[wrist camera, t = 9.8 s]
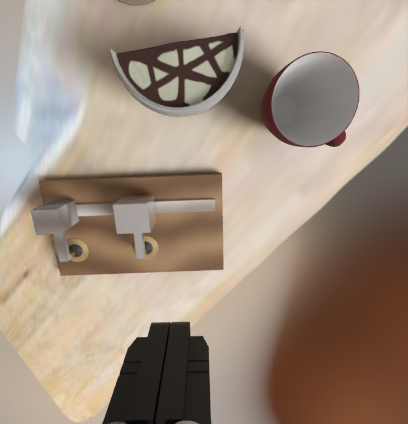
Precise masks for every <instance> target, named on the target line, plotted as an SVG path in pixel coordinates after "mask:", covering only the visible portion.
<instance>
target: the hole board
mask: <svg viewBox="0 0 408 424" xmlns="http://www.w3.org/2000/svg"><path fill="white" fill-rule="evenodd" d="M39 184H40V188H41V192H42V197H43V201H44V205H42V206H39V207H37V208H35V209H33V210H31V214H32V218H33V222H34V226H35V230H36V234H37V235H40V234H51V236H52V240H53V245H54V249H55V253H56V258H57V262H58V266H59V271H60V275H61V276H66V275H92V274H119V273H146V272H173V271H200V270H223V216H222V174H221V173H206V174H180V175H154V176H128V177H102V178H76V179H51V180H43V181H40V182H39ZM142 195H154V201H155V211H156V223H155V225H154V227H153V229H152V231H151V233H143V236H144V244H145V249H146V250H147V253H146V257H145V259H137V256H136V248H135V240H134V233H129V234H117V231H116V224H115V217H114V211H113V204H114V203H116V202H117V201H118V200H119V199H121V198H122V197H123V196H142Z"/></svg>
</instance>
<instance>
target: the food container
mask: <svg viewBox="0 0 408 424" xmlns="http://www.w3.org/2000/svg"><path fill="white" fill-rule="evenodd" d="M110 51H111V52H110V55H111V58H112V62H113V64H114V66H115V69H116V71H117V73H118V75H119V77H120V79H121V81H122V82H123V84H124V86H125V87H126V89H127V90H128V91H129V92H130V93H131V95H132V96H133V97H134V98H135V99H137V100H138V101H139V102H140V103H141V104H142V105H144V106H146V107H147V108H149V109H150V110H153V111H155V112H157V113H159V114H163V115H167V116H173V117H185V116H192V115H195V114H199V113H201V112H203V111H206V110H208V109H209V108H211V107H212V106H214V105H215V104H217V103H218V102H219V101H220V100H221V99H222V98H223V97H224V96H225V95H226V93H227V92H228V91H229V90H230V88H231V87H232V85H233V83H234V81H235V80H236V77H237V75H238V72H239V70H240V67H241V63H242V59H243V51H244V31H243V29H241V26H240V28H239V30H238V31H237V33H229V34H226V35H222V36H216V37H210V38H203V39H197V40H189V41H181V42H174V43H170V44H165V45H161V46H156V47H151V48H146V49H141V50H135V51H129V52H124V53H118V54H117V53H116V52H114V51H113V50H111V49H110Z"/></svg>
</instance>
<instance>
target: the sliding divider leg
mask: <svg viewBox="0 0 408 424" xmlns="http://www.w3.org/2000/svg"><path fill="white" fill-rule="evenodd" d="M113 211H114V217H115V224H116V231H117V234H129V233H134V240H135V248H136V256H137V259H145V257H146V253H147V250H146V249H145V244H144V236H143V233H151V231H152V229H153V227H154V225H155V223H156V211H155V201H154V195H142V196H123V197H122V198H121V199H119V200H118V201H117V202H116V203H114V204H113Z"/></svg>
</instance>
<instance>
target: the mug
mask: <svg viewBox="0 0 408 424" xmlns="http://www.w3.org/2000/svg"><path fill="white" fill-rule="evenodd" d="M358 103H359V84H358V80H357V77H356V75H355V73H354V71H353V69H352V67H351V66H350V65H349V64H348V63H347V62H346V61H345V60H344V59H343V58H341V57H339V56H338V55H335V54H333V53H329V52H312V53H308V54H305V55H303V56H301V57H299V58H297V59H295V60H294V61H292V62H291V63H289V64H288V65H287V66H285V67H284V68H283V69H282V70H281V71H280V72H279V73H278V74H277V75H276V76H275V77H274V79H273V80H272V82H271V83H270V85H269V87H268V89H267V91H266V94H265V96H264V99H263V102H262V108H261V113H262V119H263V122H264V124H265V126H266V127H267V129H268V130H269V131H270V132H271V133H272V134H273V135H274V136H275V137H276V138H278V139H279V140H280V141H282V142H284V143H286V144H289V145H293V146H298V147H317V146H321V145H324V144H326V145H328V146H332V147H337V146H339V145H341V144H342V143H343V142H344V140H345V138H346V133H345V130H346V128H347V127H348V126H349V124H350V123H351V121H352V119H353V118H354V115H355V113H356V110H357V107H358Z"/></svg>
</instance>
